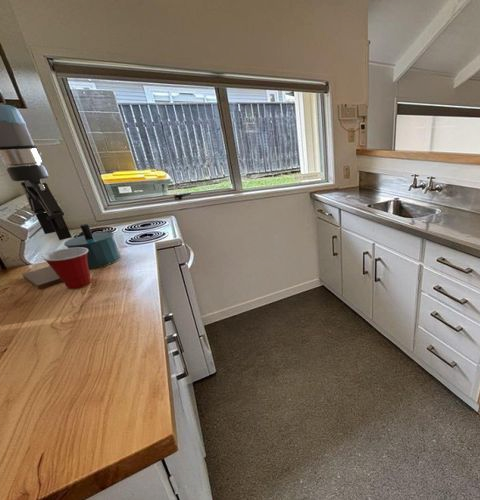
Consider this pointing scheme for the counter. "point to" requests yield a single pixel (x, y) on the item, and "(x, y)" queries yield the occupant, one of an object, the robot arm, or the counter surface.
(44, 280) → the board
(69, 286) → the plastic cup
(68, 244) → the pot lid
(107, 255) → the pot
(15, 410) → the counter surface
